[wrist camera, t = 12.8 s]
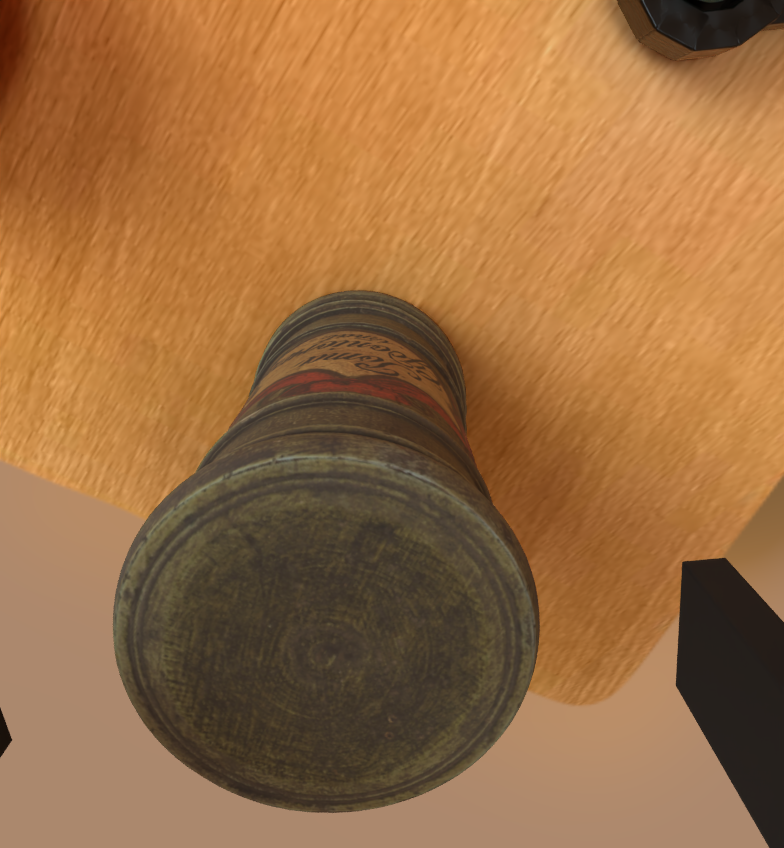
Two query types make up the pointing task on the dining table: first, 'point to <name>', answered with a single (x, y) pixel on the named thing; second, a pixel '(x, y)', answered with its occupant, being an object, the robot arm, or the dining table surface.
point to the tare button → (711, 0)
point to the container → (332, 577)
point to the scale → (699, 24)
